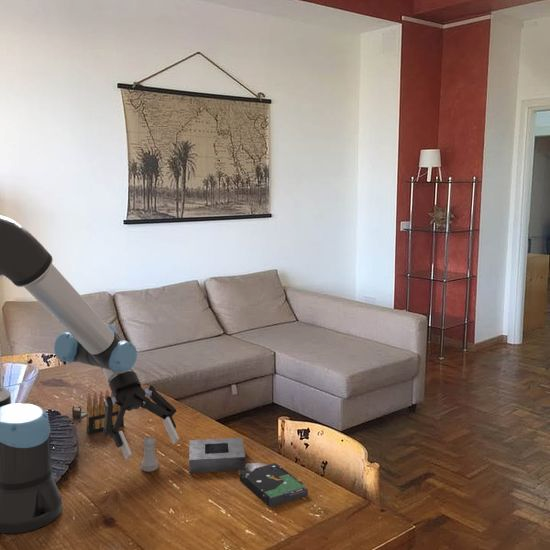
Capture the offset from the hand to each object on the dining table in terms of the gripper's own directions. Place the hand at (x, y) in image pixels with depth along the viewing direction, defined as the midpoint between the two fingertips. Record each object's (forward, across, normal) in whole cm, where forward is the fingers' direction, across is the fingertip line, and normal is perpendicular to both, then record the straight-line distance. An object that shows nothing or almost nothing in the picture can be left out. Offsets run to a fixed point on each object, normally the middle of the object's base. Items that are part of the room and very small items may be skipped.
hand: (153, 449), depth 151 cm
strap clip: (-28, 0, -37) cm, 46 cm away
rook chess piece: (+3, 0, -5) cm, 6 cm away
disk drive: (+24, -16, +15) cm, 32 cm away
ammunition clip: (-18, -3, -26) cm, 32 cm away
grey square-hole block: (+9, -14, +1) cm, 17 cm away
